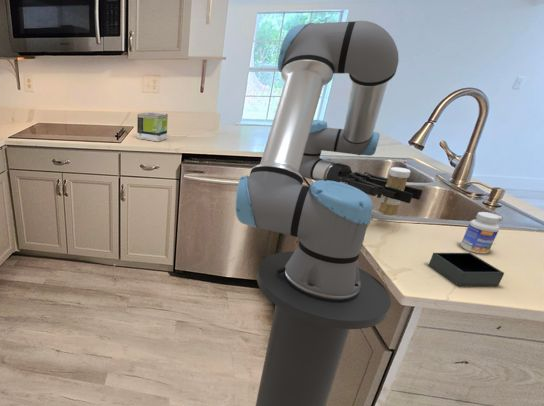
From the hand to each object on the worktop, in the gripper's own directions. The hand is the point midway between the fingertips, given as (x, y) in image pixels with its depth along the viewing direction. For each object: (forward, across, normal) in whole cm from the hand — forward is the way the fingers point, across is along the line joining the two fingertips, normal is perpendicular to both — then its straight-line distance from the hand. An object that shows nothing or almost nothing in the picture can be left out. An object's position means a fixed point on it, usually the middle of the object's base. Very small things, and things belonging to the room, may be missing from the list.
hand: (415, 196), depth 100 cm
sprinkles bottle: (-5, 0, -7) cm, 9 cm away
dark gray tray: (+18, +12, -11) cm, 24 cm away
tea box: (-134, -5, -11) cm, 135 cm away
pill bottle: (+14, -5, -11) cm, 18 cm away
